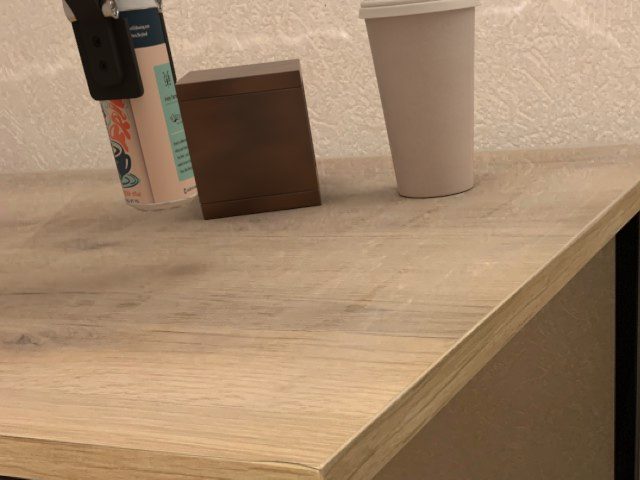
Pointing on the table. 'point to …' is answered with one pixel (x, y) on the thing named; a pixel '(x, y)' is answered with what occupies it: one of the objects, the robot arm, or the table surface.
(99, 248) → the table surface
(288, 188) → the wooden lidded box
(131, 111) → the beer can
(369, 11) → the coffee cup
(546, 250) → the table surface
